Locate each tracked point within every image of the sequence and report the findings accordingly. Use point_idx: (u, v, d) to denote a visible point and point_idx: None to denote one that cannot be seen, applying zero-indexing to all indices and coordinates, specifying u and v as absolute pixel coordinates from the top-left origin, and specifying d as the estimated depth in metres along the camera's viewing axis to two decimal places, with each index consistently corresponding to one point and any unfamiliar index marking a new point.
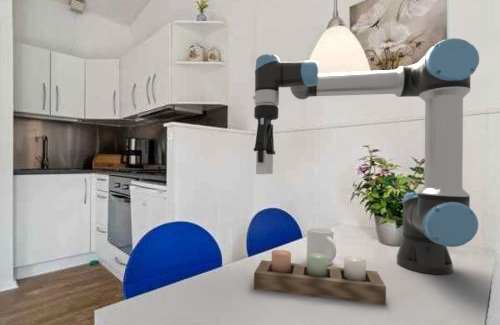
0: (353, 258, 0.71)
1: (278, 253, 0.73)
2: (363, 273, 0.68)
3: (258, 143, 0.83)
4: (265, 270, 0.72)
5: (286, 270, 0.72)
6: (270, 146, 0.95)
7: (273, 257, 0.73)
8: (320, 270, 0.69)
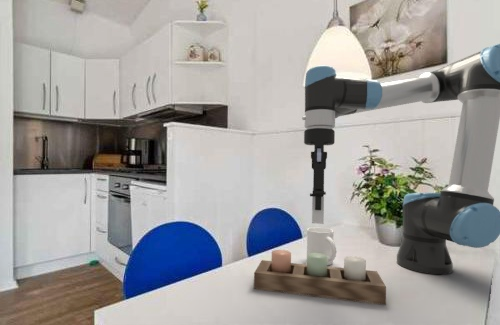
0: (353, 258, 0.71)
1: (278, 253, 0.73)
2: (363, 273, 0.68)
3: None
4: (265, 270, 0.72)
5: (286, 270, 0.72)
6: None
7: (273, 257, 0.73)
8: (320, 270, 0.69)
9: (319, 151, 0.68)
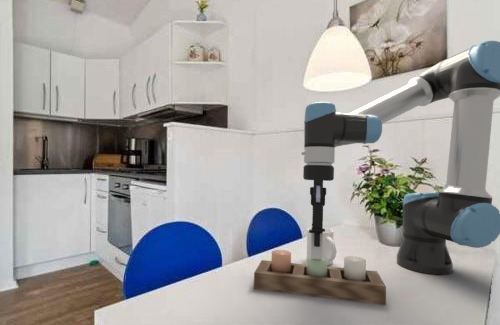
0: (353, 258, 0.71)
1: (278, 253, 0.73)
2: (363, 273, 0.68)
3: None
4: (265, 270, 0.72)
5: (286, 270, 0.72)
6: None
7: (273, 257, 0.73)
8: (319, 274, 0.69)
9: (318, 190, 0.68)
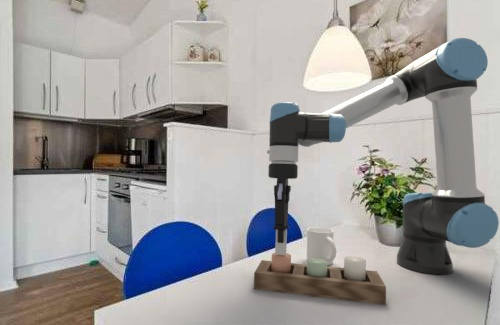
0: (353, 258, 0.71)
1: (278, 256, 0.73)
2: (363, 273, 0.68)
3: None
4: (265, 270, 0.72)
5: None
6: None
7: (273, 260, 0.73)
8: (319, 276, 0.69)
9: (280, 188, 0.70)
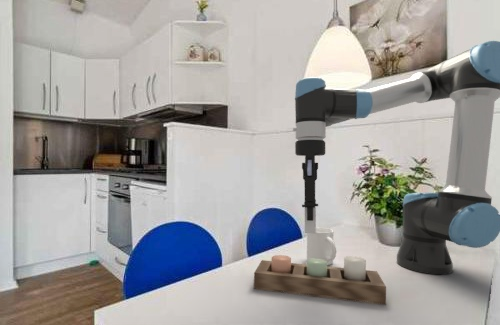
0: (353, 258, 0.71)
1: (278, 258, 0.73)
2: (363, 273, 0.68)
3: None
4: (265, 270, 0.72)
5: None
6: None
7: (273, 262, 0.73)
8: (319, 276, 0.69)
9: (309, 164, 0.69)
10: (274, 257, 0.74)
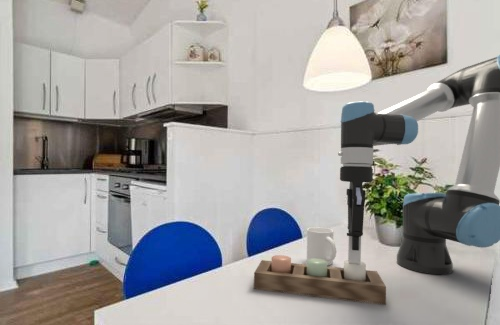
0: None
1: (278, 258, 0.73)
2: (363, 277, 0.68)
3: None
4: (265, 270, 0.72)
5: None
6: None
7: (273, 262, 0.73)
8: (319, 276, 0.69)
9: (358, 192, 0.66)
10: (274, 257, 0.74)
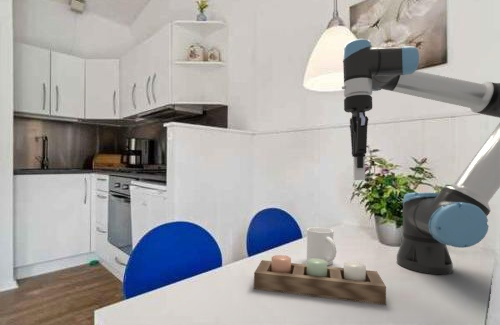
0: (352, 263, 0.71)
1: (278, 258, 0.73)
2: (363, 279, 0.68)
3: None
4: (265, 270, 0.72)
5: None
6: None
7: (273, 262, 0.73)
8: (319, 276, 0.69)
9: (362, 115, 0.77)
10: (274, 257, 0.74)
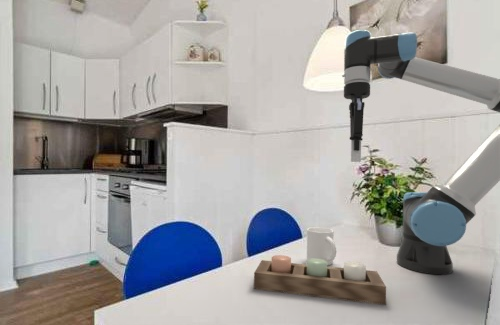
0: (352, 263, 0.71)
1: (278, 258, 0.73)
2: (363, 279, 0.68)
3: None
4: (265, 270, 0.72)
5: None
6: None
7: (273, 262, 0.73)
8: (319, 276, 0.69)
9: (359, 101, 0.82)
10: (274, 257, 0.74)
